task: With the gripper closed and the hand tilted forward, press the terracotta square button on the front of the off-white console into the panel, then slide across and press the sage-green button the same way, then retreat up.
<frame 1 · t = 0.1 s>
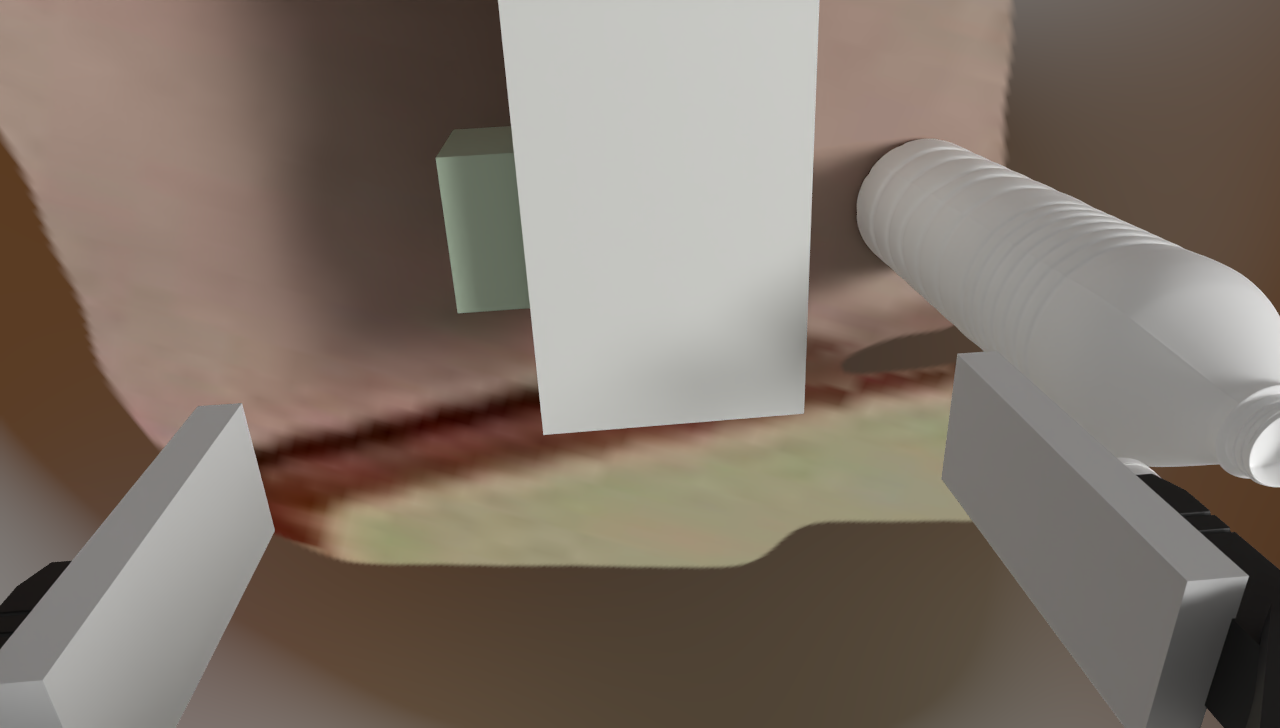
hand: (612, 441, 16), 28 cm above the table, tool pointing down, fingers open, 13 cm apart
sage button: (542, 211, 36), point 7 cm above the table, slide at 0.0 cm
console: (631, 36, 40), on the table
water bottle: (894, 210, 44), on the table
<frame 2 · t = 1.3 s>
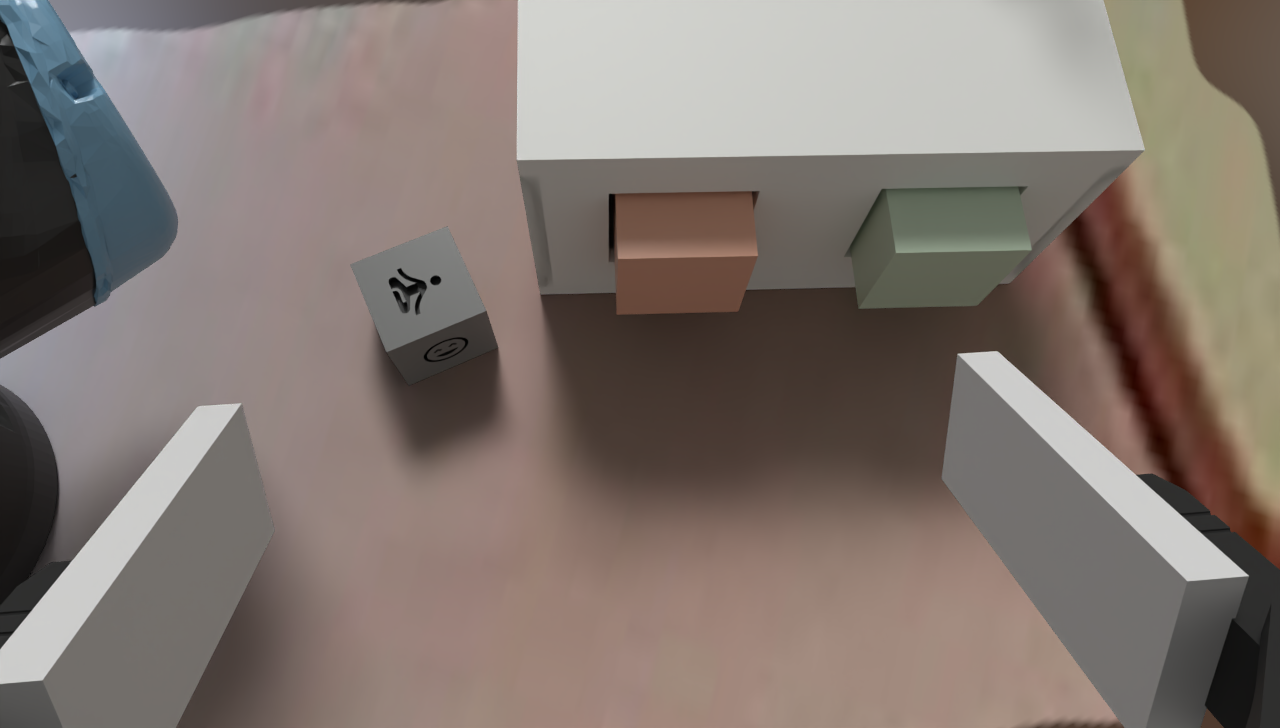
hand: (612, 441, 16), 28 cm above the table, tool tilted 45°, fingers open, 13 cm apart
terracotta button: (678, 219, 41), point 7 cm above the table, slide at 0.0 cm
dice cube: (437, 328, 47), on the table
sage button: (927, 214, 42), point 7 cm above the table, slide at 0.0 cm
console: (769, 208, 50), on the table
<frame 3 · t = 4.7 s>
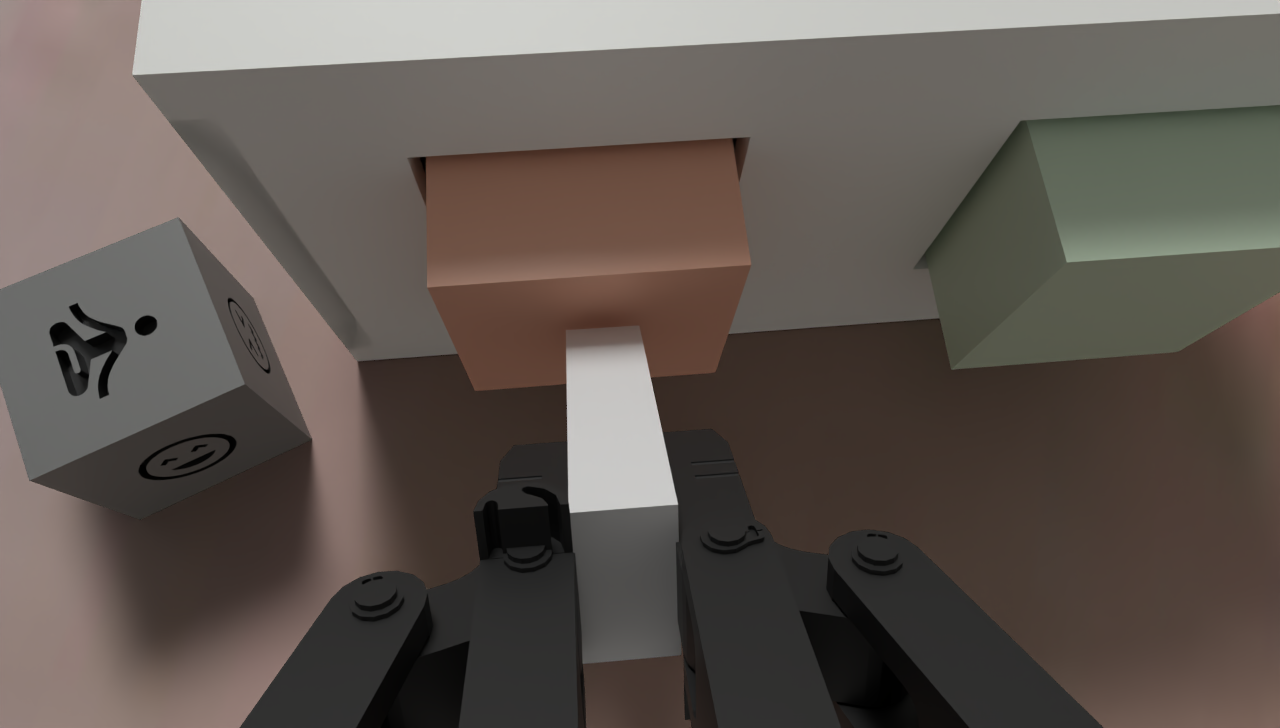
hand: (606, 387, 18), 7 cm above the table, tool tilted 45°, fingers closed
terracotta button: (582, 196, 20), point 7 cm above the table, slide at 0.4 cm, touching gripper
dice cube: (203, 406, 26), on the table
sage button: (1089, 179, 21), point 7 cm above the table, slide at 0.0 cm
console: (764, 188, 28), on the table
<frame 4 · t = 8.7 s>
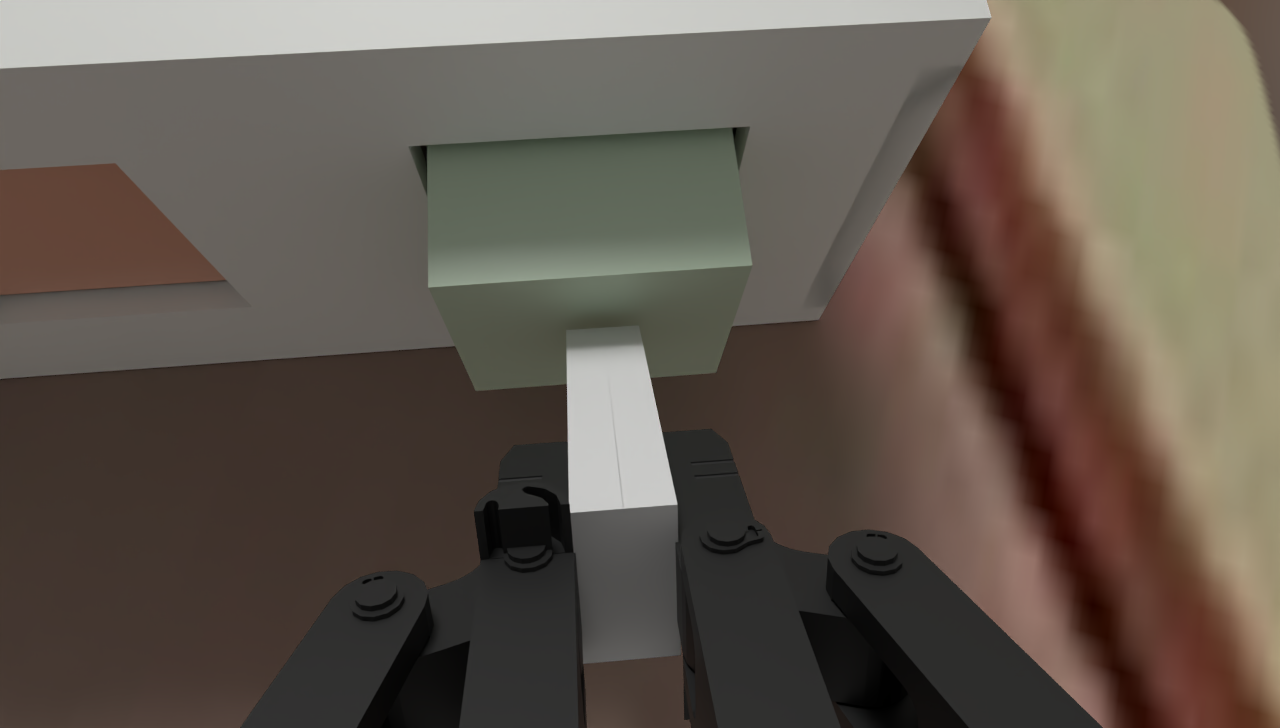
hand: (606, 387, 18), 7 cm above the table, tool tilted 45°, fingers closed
terracotta button: (65, 98, 21), point 7 cm above the table, slide at 3.7 cm
sage button: (583, 196, 20), point 7 cm above the table, slide at 0.2 cm, touching gripper
console: (392, 204, 28), on the table
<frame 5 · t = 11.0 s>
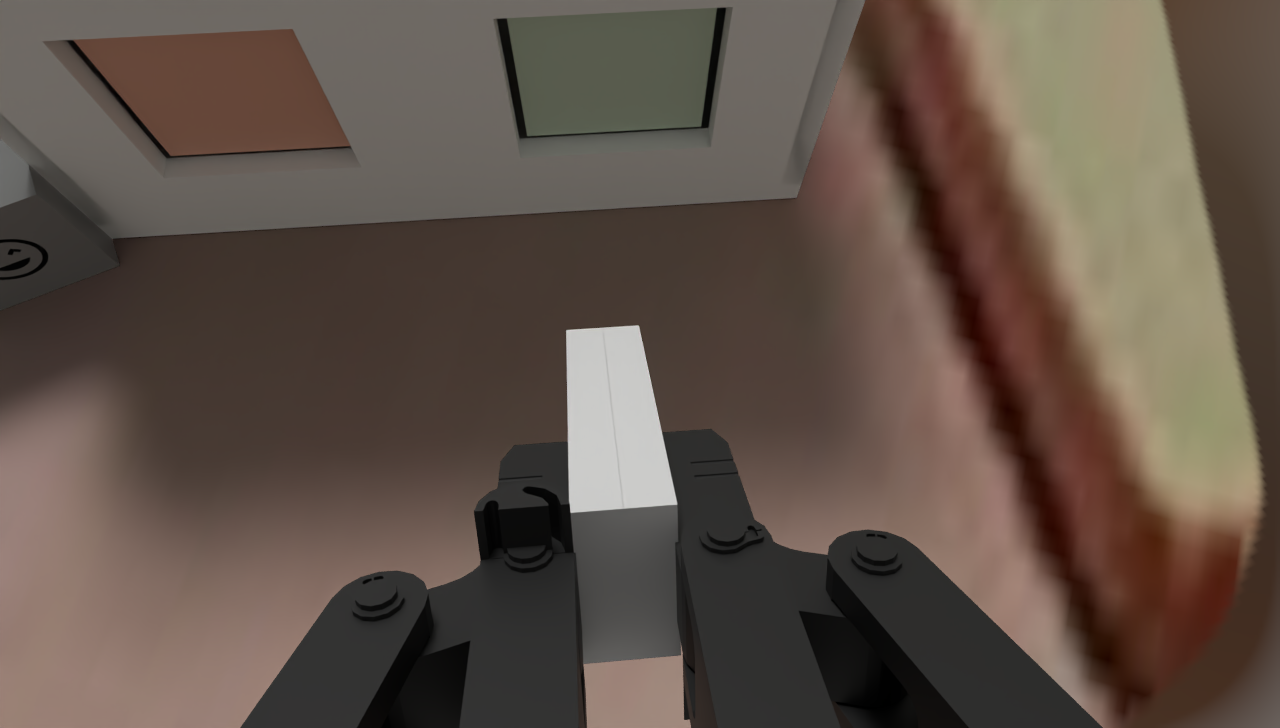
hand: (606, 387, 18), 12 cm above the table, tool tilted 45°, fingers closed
terracotta button: (232, 4, 28), point 7 cm above the table, slide at 3.7 cm
dice cube: (41, 240, 33), on the table
console: (459, 109, 35), on the table
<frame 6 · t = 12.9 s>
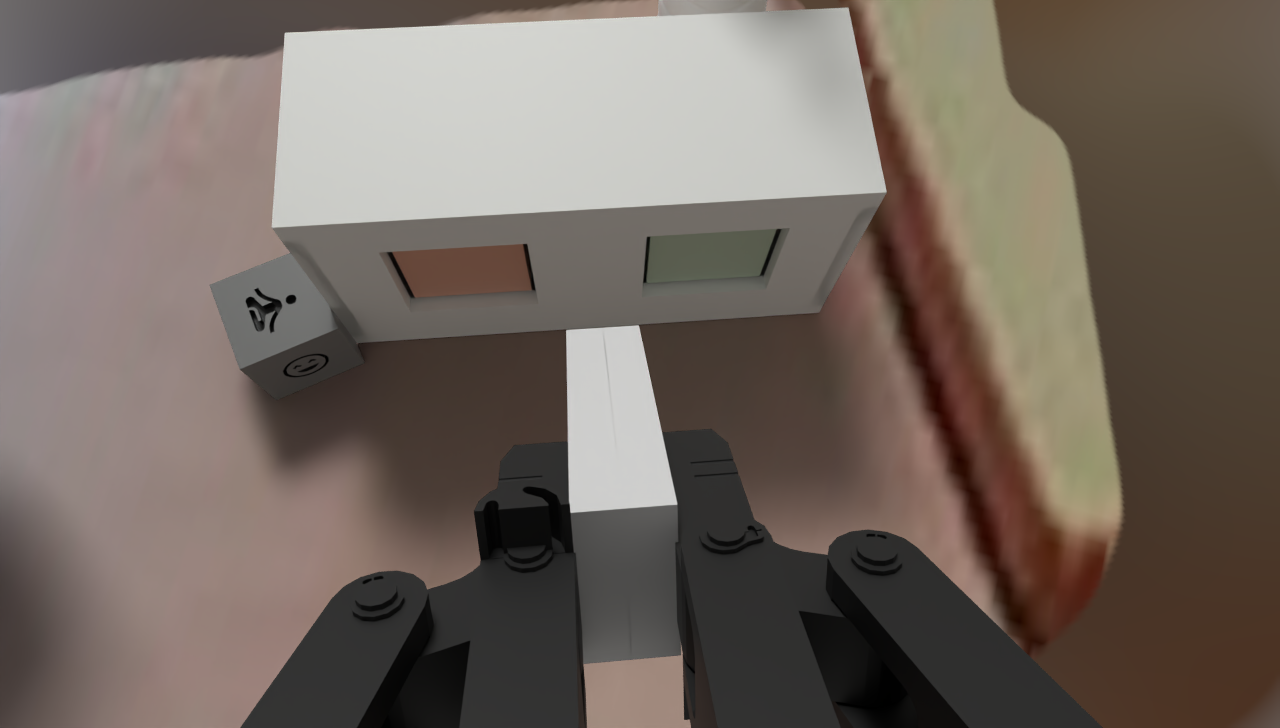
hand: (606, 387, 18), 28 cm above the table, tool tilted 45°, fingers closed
terracotta button: (463, 204, 44), point 7 cm above the table, slide at 3.7 cm
dice cube: (307, 344, 49), on the table
sage button: (701, 191, 44), point 7 cm above the table, slide at 3.7 cm
console: (586, 248, 51), on the table
water bottle: (713, 61, 56), on the table
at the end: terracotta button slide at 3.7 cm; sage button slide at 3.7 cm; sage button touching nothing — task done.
